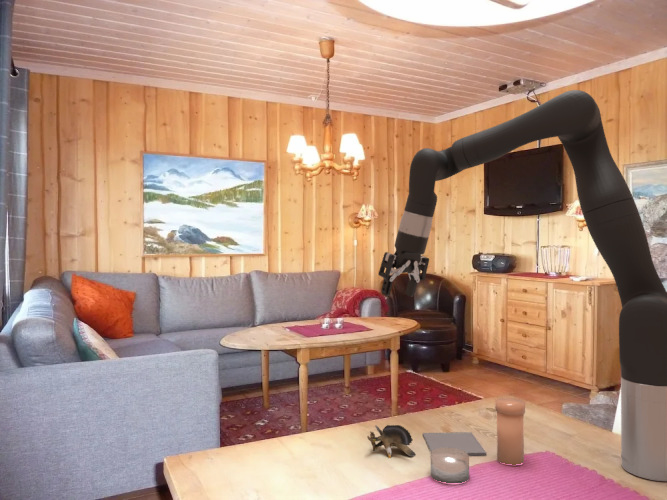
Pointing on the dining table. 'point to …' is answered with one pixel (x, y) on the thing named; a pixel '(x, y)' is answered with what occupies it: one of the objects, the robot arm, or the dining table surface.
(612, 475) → the dining table surface
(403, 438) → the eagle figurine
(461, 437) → the slate coaster
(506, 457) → the peach dome-topped cylinder
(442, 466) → the metal tin
